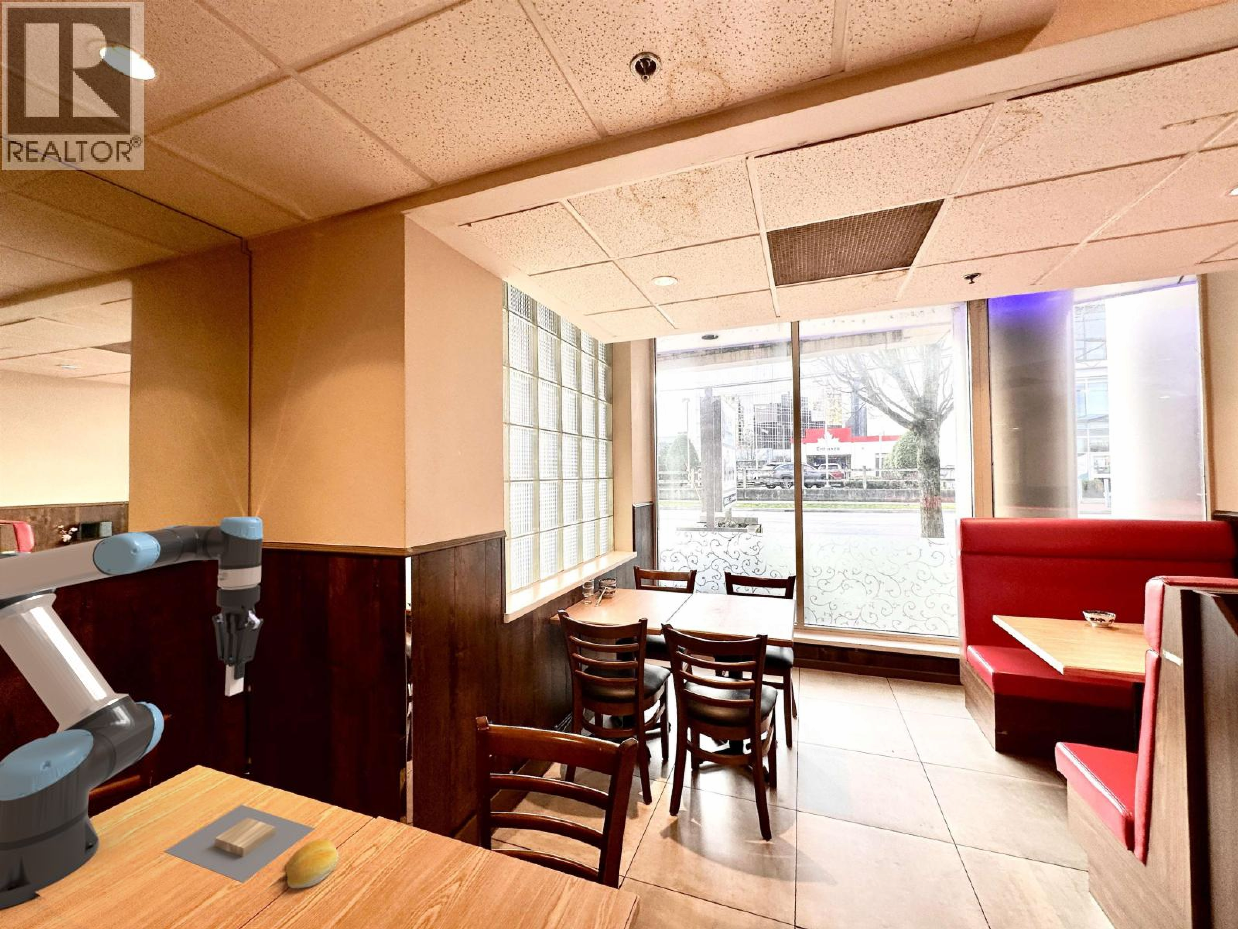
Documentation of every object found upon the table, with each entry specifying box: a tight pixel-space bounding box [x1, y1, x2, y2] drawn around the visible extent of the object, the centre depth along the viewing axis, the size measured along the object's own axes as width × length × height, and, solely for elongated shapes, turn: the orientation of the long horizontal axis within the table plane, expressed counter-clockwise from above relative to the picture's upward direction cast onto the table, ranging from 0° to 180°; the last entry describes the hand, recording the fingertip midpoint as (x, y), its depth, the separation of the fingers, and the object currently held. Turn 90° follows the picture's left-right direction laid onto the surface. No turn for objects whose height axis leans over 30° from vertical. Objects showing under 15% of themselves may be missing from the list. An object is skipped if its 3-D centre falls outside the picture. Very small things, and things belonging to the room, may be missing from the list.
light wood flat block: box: [215, 818, 275, 857], centre depth 94 cm, size 2×6×8 cm
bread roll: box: [285, 839, 339, 889], centre depth 88 cm, size 8×9×4 cm
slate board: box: [163, 804, 316, 883], centre depth 94 cm, size 22×14×1 cm, turn 72°
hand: (234, 693), depth 104 cm, fingers closed
